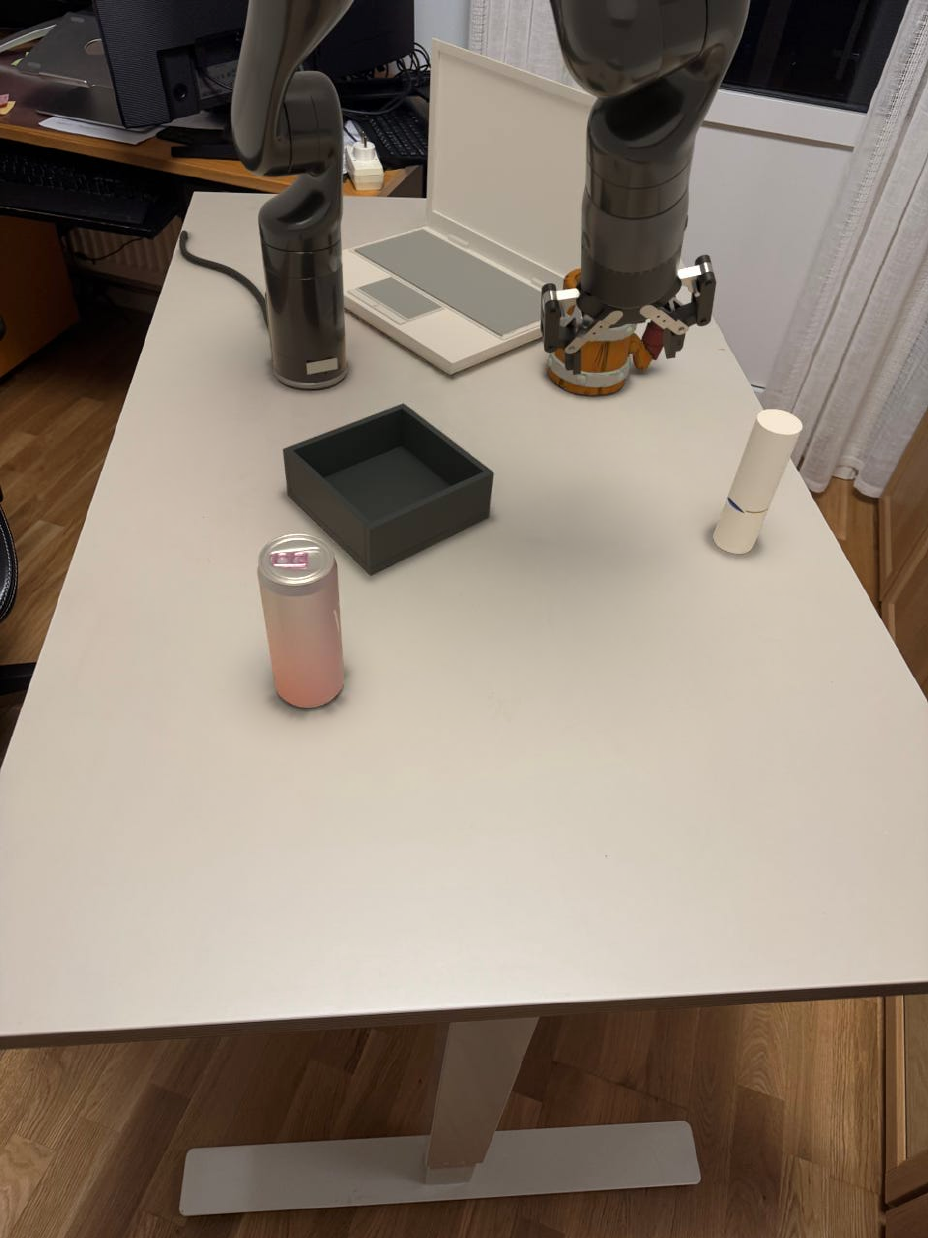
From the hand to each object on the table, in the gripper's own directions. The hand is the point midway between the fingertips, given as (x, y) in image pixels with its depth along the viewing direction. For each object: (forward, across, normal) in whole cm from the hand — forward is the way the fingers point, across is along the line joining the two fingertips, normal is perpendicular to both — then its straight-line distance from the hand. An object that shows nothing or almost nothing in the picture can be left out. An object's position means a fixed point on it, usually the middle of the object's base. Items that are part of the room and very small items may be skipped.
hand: (621, 358), depth 77 cm
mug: (+32, -2, -19) cm, 37 cm away
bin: (+14, +25, +4) cm, 29 cm away
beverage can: (+2, +32, +26) cm, 41 cm away
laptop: (+36, +18, -38) cm, 55 cm away
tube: (+20, -11, +12) cm, 25 cm away
